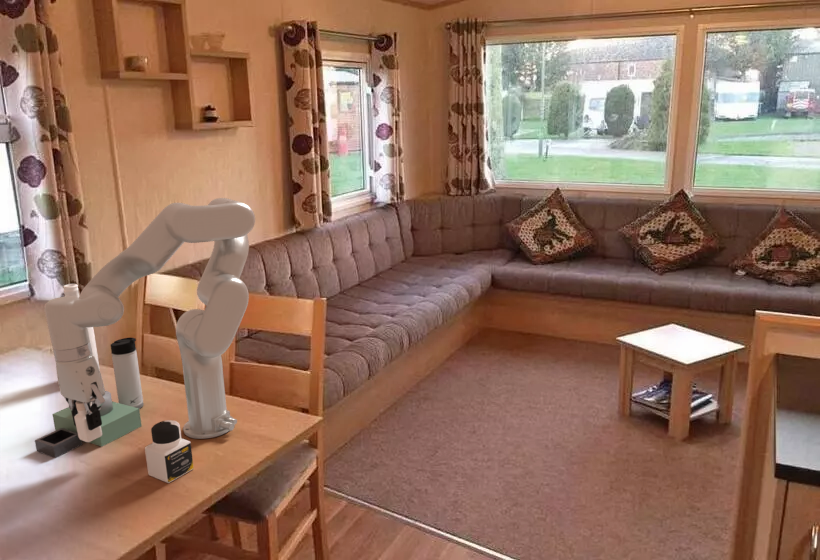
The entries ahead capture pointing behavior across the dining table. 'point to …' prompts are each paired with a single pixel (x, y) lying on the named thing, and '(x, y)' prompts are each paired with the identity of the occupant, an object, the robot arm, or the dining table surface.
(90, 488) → the dining table surface
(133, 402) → the travel mug
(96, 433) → the pepper shaker
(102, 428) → the green slab with dome
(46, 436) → the dark brown square tray
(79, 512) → the dining table surface
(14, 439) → the dining table surface
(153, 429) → the medicine bottle
